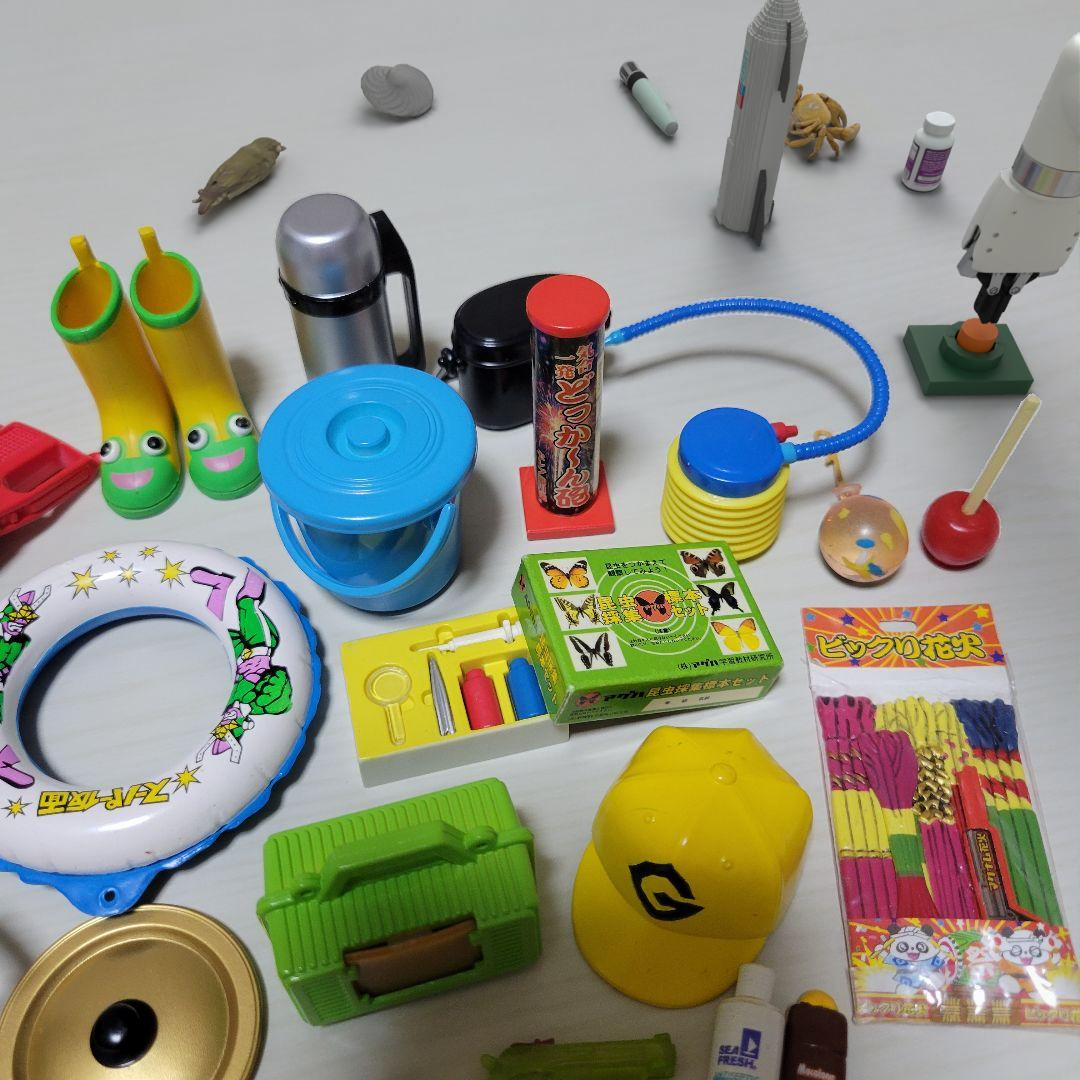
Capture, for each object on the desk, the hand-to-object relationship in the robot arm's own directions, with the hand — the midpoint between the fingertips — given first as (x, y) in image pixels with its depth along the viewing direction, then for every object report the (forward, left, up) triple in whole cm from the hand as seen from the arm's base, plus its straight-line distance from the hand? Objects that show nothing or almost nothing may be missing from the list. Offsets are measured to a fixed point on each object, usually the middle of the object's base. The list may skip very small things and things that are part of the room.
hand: (985, 315), depth 108 cm
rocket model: (+22, -31, -8) cm, 39 cm away
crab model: (+8, -52, -8) cm, 53 cm away
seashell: (+72, -63, -8) cm, 96 cm away
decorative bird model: (+93, -40, -8) cm, 101 cm away
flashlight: (+32, -61, -8) cm, 69 cm away
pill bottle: (-5, -39, -8) cm, 40 cm away
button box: (0, 0, -7) cm, 7 cm away
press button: (0, 0, -4) cm, 4 cm away
